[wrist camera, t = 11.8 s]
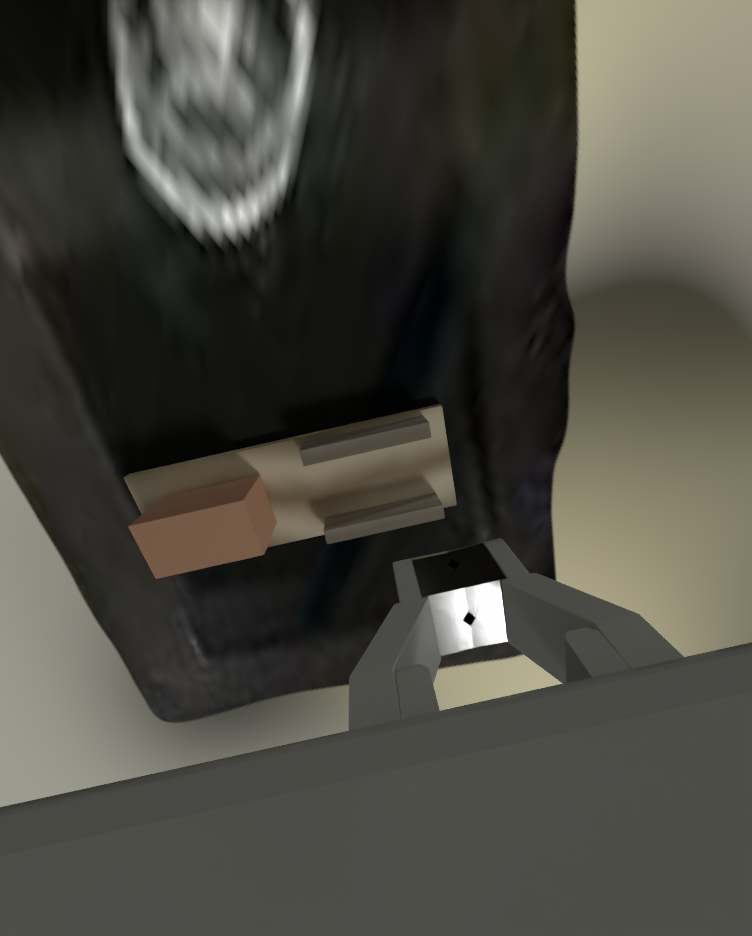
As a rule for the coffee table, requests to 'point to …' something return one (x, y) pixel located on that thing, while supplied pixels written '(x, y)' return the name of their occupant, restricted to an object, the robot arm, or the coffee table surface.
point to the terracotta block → (205, 527)
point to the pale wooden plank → (331, 477)
